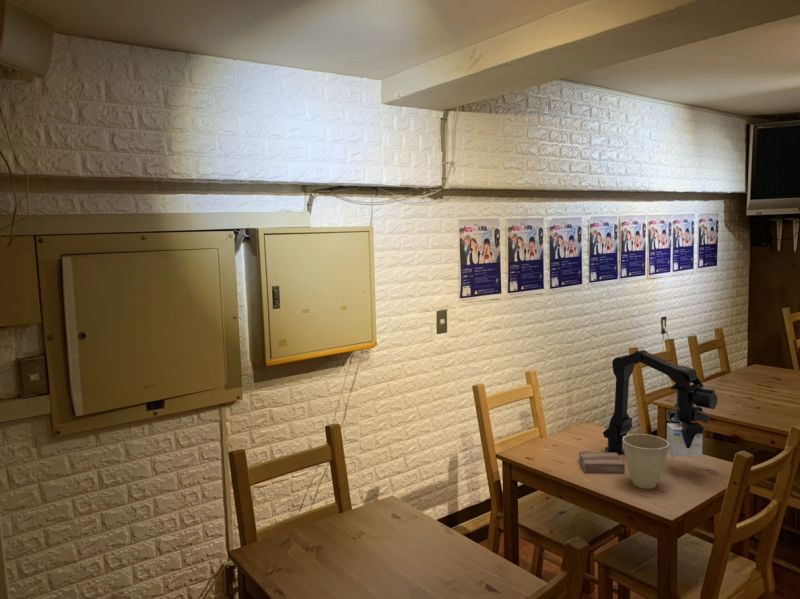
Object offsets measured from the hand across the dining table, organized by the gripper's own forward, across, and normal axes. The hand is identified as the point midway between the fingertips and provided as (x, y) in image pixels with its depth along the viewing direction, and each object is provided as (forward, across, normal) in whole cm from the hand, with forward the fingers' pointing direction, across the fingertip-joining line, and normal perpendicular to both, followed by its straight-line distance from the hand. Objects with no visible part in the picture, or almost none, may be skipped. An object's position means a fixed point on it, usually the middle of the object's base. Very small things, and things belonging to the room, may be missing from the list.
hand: (684, 444), depth 220 cm
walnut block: (+11, +6, +28) cm, 31 cm away
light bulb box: (+4, 0, 0) cm, 4 cm away
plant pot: (+11, -10, +17) cm, 23 cm away
